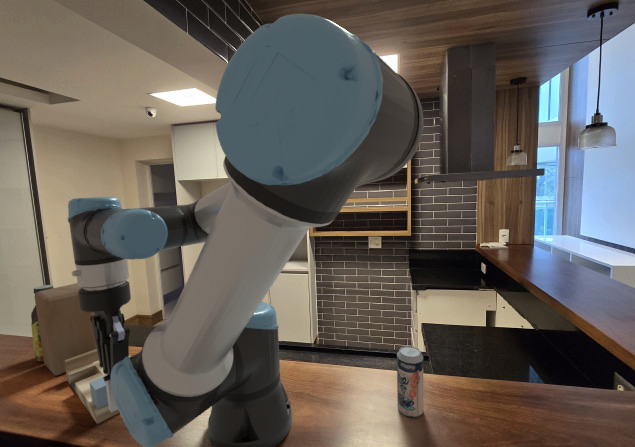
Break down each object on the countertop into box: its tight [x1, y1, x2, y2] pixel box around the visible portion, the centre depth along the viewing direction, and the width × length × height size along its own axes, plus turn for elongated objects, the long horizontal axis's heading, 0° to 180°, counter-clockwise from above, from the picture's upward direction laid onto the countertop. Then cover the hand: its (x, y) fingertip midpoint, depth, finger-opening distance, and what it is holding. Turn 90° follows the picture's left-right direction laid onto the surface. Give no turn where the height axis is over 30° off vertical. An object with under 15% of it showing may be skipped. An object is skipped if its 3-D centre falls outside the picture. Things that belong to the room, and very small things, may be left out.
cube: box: [89, 376, 108, 409], centre depth 62 cm, size 4×4×4 cm
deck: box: [64, 349, 132, 425], centre depth 71 cm, size 23×12×5 cm, turn 50°
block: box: [34, 282, 97, 376], centre depth 81 cm, size 10×10×20 cm
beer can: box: [396, 345, 424, 418], centre depth 59 cm, size 5×5×12 cm
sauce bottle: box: [30, 284, 54, 363], centre depth 84 cm, size 6×6×20 cm
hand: (118, 406), depth 57 cm, fingers closed
